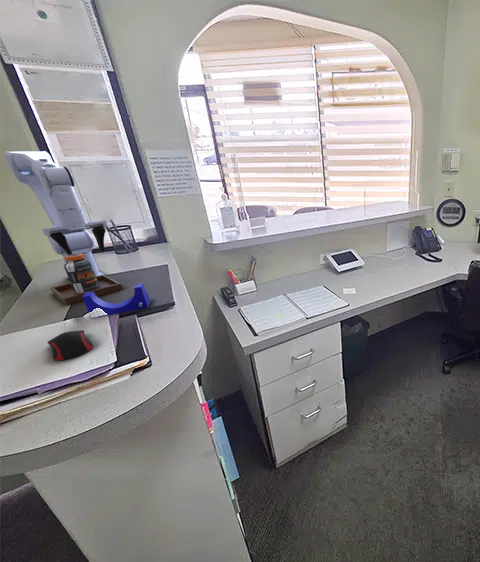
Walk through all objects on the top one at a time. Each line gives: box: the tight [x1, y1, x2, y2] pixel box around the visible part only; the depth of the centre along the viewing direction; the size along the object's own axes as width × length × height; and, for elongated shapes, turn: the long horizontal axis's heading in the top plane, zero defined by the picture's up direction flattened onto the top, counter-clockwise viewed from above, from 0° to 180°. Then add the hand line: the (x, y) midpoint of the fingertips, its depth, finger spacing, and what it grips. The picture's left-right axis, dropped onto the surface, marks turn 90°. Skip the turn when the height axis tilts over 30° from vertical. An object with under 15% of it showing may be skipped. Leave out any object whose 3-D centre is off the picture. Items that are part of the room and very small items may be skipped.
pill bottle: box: [63, 253, 100, 293], centre depth 93 cm, size 6×6×11 cm
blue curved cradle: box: [82, 282, 151, 316], centre depth 81 cm, size 12×4×6 cm, turn 117°
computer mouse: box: [46, 329, 95, 362], centre depth 65 cm, size 6×11×4 cm, turn 51°
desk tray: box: [50, 274, 124, 306], centre depth 95 cm, size 15×13×2 cm
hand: (87, 253), depth 97 cm, fingers open, 7 cm apart
